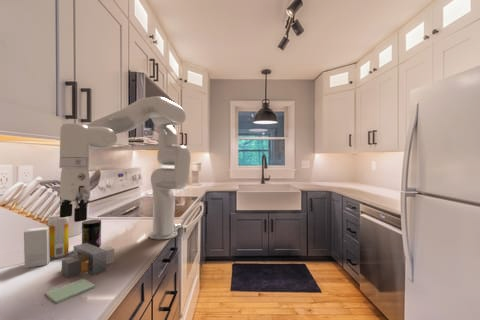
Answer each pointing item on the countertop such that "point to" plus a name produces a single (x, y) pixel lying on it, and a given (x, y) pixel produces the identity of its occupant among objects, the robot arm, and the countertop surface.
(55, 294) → the mat
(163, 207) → the robot arm
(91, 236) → the supplement container
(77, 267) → the plug
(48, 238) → the skincare box
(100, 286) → the countertop surface
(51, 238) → the beer can
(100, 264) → the block
